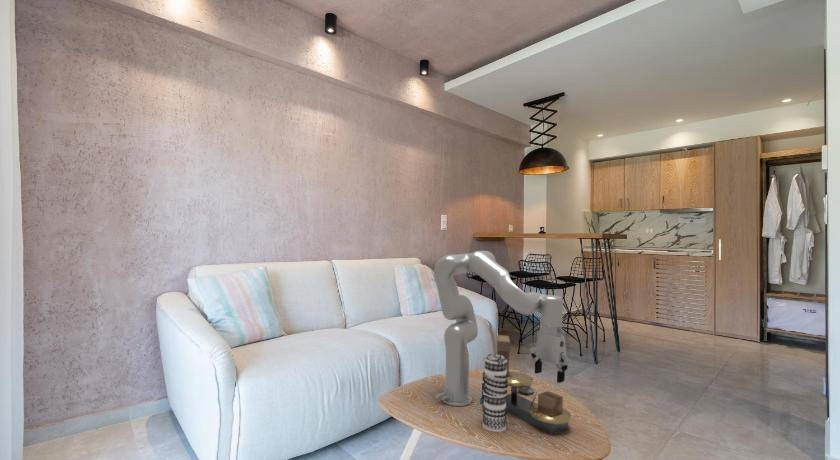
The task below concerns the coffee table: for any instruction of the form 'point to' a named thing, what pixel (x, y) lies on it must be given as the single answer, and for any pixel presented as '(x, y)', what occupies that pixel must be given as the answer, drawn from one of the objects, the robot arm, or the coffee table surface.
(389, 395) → the coffee table surface
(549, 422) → the balance
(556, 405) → the walnut block
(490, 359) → the decorative candle
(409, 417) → the coffee table surface
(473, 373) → the coffee table surface
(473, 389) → the coffee table surface
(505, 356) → the decorative block
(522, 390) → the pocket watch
